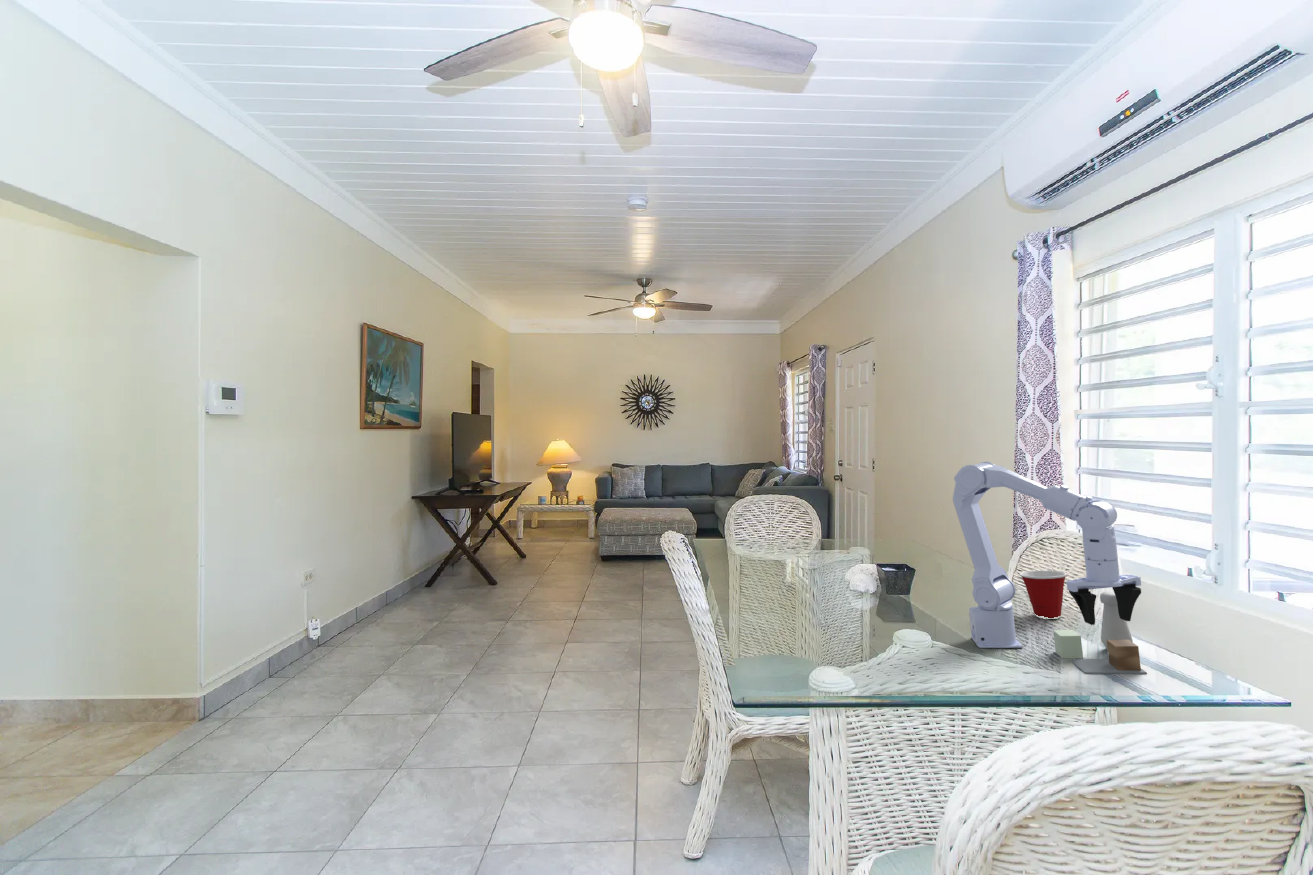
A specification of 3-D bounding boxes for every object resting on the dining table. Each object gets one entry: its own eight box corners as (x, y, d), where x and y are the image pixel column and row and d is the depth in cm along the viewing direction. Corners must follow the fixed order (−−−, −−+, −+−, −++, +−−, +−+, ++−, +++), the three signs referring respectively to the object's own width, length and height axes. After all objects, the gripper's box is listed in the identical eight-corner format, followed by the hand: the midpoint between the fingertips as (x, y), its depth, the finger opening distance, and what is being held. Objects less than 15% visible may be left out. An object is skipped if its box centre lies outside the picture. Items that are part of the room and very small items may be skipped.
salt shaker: (1139, 654, 130) (1133, 595, 130) (1110, 655, 131) (1104, 597, 131) (1124, 645, 135) (1118, 588, 135) (1096, 646, 136) (1090, 590, 137)
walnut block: (1118, 670, 122) (1115, 646, 123) (1109, 663, 126) (1106, 639, 126) (1141, 670, 121) (1138, 646, 122) (1131, 663, 125) (1128, 639, 125)
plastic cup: (1058, 609, 164) (1053, 566, 164) (1080, 621, 153) (1075, 575, 153) (1016, 611, 165) (1011, 569, 165) (1035, 623, 154) (1030, 578, 155)
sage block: (1062, 658, 132) (1060, 635, 132) (1055, 651, 136) (1053, 630, 136) (1083, 658, 131) (1080, 635, 131) (1075, 651, 135) (1073, 629, 135)
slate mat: (1084, 673, 123) (1084, 672, 123) (1070, 660, 130) (1069, 658, 130) (1146, 673, 120) (1146, 672, 120) (1128, 659, 128) (1127, 658, 128)
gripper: (1080, 565, 122) (1087, 630, 122) (1150, 558, 122) (1157, 623, 122) (1057, 558, 129) (1063, 620, 129) (1123, 552, 129) (1129, 614, 129)
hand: (1107, 621), depth 126 cm, fingers open, 7 cm apart
